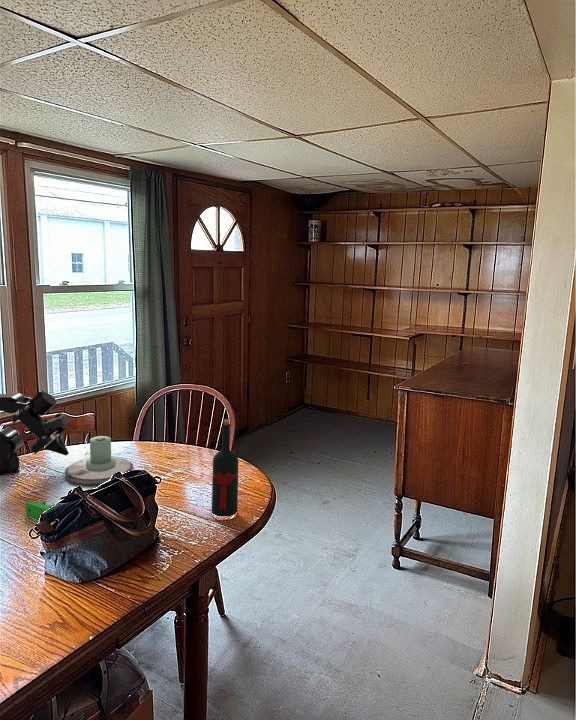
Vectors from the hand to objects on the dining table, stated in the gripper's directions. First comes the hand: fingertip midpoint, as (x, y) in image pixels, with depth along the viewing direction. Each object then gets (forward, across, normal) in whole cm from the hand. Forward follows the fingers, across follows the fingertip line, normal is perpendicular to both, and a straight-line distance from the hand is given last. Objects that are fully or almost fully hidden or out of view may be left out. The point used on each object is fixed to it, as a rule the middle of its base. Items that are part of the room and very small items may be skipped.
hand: (67, 454), depth 182 cm
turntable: (+12, 0, -3) cm, 13 cm away
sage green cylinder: (+11, 0, -5) cm, 12 cm away
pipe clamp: (+9, -34, +1) cm, 36 cm away
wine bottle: (+45, -32, -37) cm, 66 cm away
